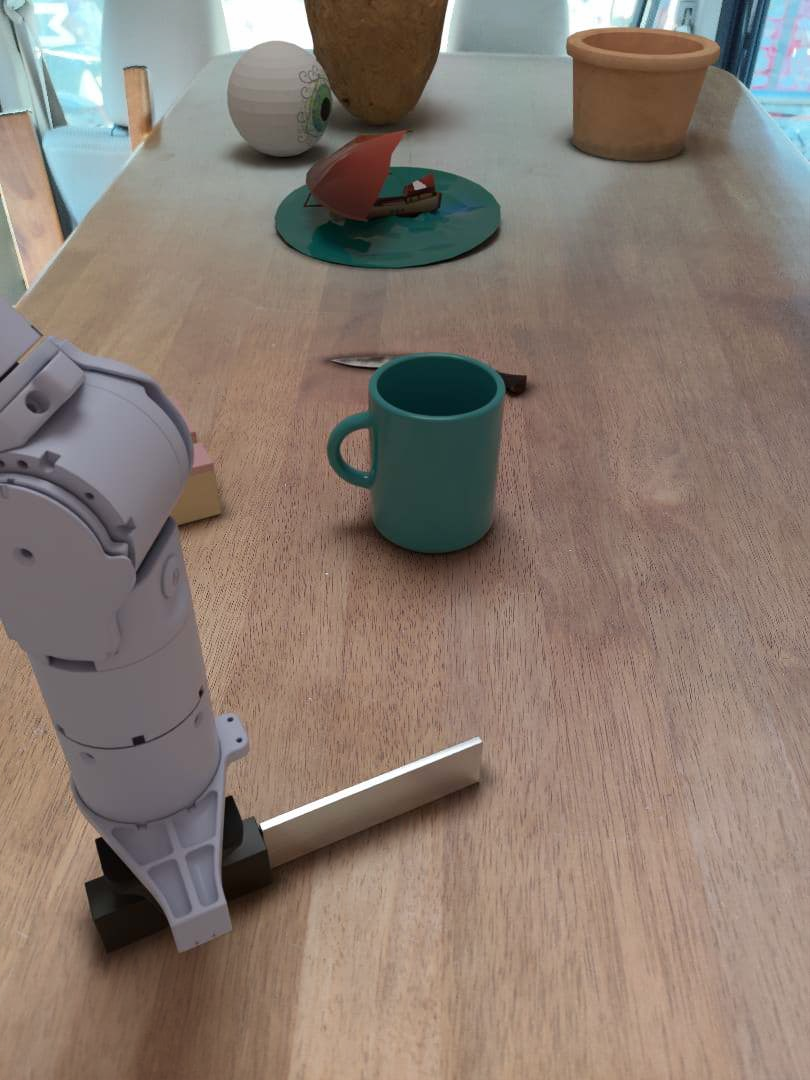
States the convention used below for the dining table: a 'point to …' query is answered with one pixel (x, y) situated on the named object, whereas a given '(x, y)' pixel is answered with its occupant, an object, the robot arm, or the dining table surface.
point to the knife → (510, 380)
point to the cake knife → (297, 836)
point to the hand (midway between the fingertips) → (182, 882)
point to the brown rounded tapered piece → (377, 52)
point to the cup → (429, 450)
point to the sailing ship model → (384, 209)
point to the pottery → (636, 89)
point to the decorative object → (279, 98)
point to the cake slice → (198, 490)
